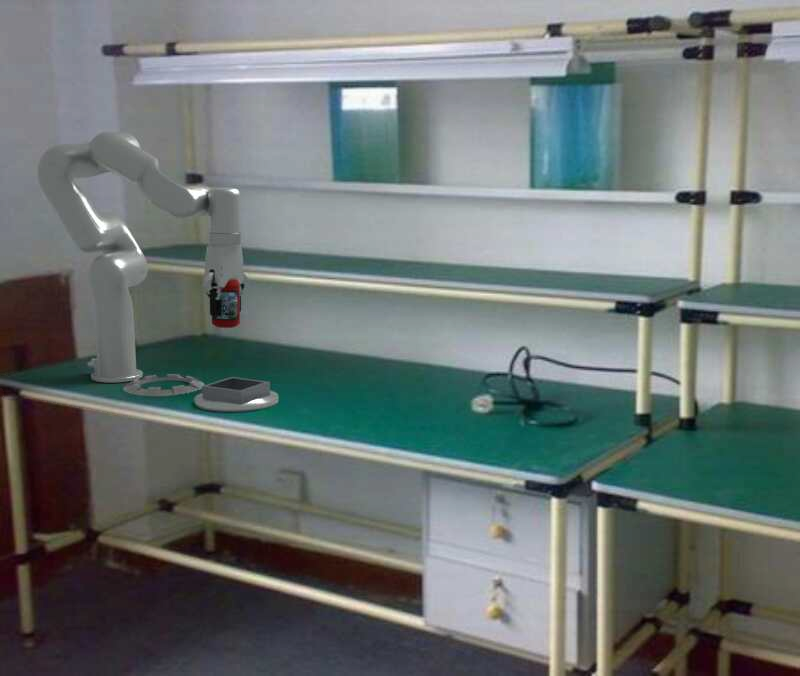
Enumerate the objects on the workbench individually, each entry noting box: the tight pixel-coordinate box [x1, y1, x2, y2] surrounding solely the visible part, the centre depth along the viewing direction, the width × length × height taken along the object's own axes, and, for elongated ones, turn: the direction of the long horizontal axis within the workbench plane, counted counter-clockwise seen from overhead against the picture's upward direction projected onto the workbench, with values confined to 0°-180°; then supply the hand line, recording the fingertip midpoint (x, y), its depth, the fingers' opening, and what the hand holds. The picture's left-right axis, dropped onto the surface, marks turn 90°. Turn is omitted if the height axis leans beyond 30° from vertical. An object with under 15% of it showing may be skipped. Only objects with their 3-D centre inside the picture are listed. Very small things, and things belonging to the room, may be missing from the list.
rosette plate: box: [194, 376, 279, 413], centre depth 260 cm, size 19×19×4 cm
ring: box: [122, 373, 206, 397], centre depth 276 cm, size 19×19×2 cm
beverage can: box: [211, 277, 241, 329], centre depth 274 cm, size 7×7×12 cm
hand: (225, 312), depth 274 cm, fingers closed on beverage can, 6 cm apart
